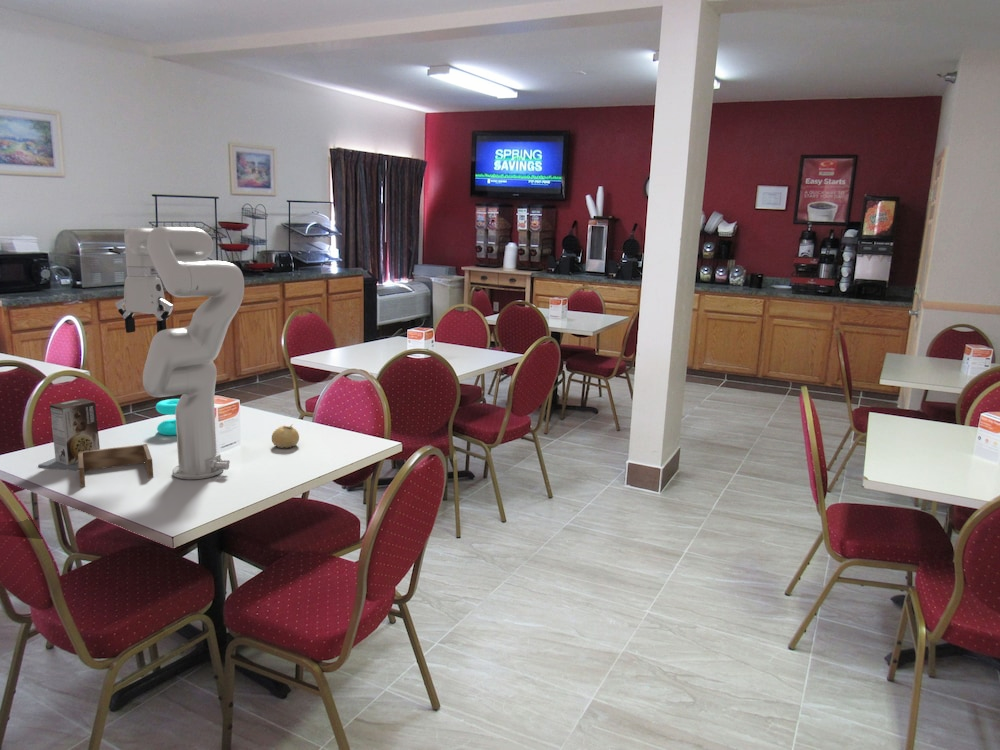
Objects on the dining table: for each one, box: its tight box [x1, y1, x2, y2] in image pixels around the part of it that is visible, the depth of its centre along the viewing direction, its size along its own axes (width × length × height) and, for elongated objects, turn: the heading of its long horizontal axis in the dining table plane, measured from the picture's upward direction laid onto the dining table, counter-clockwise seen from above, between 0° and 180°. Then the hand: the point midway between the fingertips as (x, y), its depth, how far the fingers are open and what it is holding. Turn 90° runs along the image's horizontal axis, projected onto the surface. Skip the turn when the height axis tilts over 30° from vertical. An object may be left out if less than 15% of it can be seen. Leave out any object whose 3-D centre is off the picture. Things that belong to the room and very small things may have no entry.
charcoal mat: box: [38, 457, 79, 471], centre depth 192 cm, size 13×13×1 cm
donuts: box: [155, 398, 180, 436], centre depth 221 cm, size 10×10×10 cm
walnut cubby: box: [78, 443, 154, 488], centre depth 183 cm, size 16×14×5 cm
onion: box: [271, 424, 300, 448], centre depth 211 cm, size 8×8×7 cm
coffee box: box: [49, 398, 101, 465], centre depth 190 cm, size 9×6×16 cm
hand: (146, 333), depth 199 cm, fingers open, 9 cm apart
